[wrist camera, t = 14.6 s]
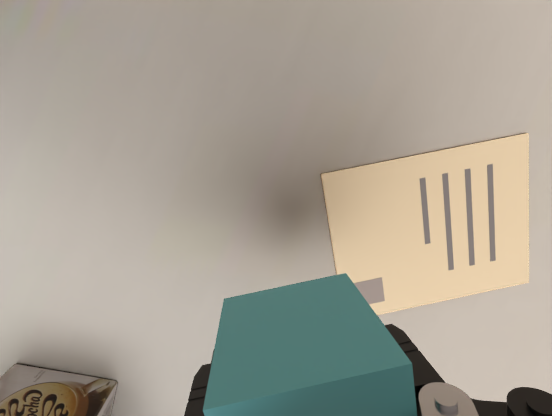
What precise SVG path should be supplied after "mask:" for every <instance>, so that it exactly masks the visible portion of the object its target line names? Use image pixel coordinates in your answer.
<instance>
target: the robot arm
mask: <svg viewBox="0 0 552 416" xmlns="http://www.w3.org/2000/svg"><path fill="white" fill-rule="evenodd" d="M385 327H386V328H387V330H388V331H389V332H390V334H391V335H392V337H393V338H394V339H395V341H396V342H397V343H398V345H399V346H400V347H401V349H402V350H403V352H404V353H405V354H406V356H407V357H408V358H409V360H410V361H411V363H412V367H413V377H414V387H415V398H416V408H417V416H552V394H549V393H547V392H545V391H542V390H539V389H535V388H529V387H520V388H515V389H513V390H511V391H510V392H509V393H508V395H507V402H493V401H481V400H475V399H471V398H470V397H469V396H468V395H467V394H466V393H465V392H463V391H462V390H461V389H459V388H457V387H455V386H453V385H450V384H447V383H445V382H444V380H443V379H442V378H441V377H440V376H439V374H438V373H437V372H436V371H435V369H434V368H433V367H432V366H431V364H430V363H429V362H428V361H427V360H426V358H425V357H424V356H423V355H422V353H421V352H420V351H418V348H417V347H416V346H415V345H414V344H413V343H412V342H411V340H410V339H409V337H408V336H407V335H406V334H405V332H404V331H402V330H401V329H399V328H397V327H396V326H394V325H392V324H389V325H385ZM213 354H214V351H213ZM212 359H213V356H212ZM211 365H212V361H211V364H206V365H202V366H201V368H200V369H199V371H198V372H197V374H196V375H195V377H194V380H193V384H192V388H191V392H190V395H189V399H188V400H189V402H188V403H187V407H186V411H185V415H184V416H204V413H203V406H204V401H205V396H206V391H207V385H208V380H209V375H210V370H211Z"/></svg>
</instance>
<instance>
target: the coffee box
mask: <svg viewBox="0 0 552 416" xmlns="http://www.w3.org/2000/svg"><path fill="white" fill-rule="evenodd" d="M116 388H117V382H116V381H114V380H109V379H102V378H96V377H91V376H85V375H79V374H73V373H67V372H61V371H55V370H49V369H42V368H36V367H31V366H25V365H19V364H15V365H13V366H12V367H11V368H10V369H9V370H8V371H7V372H6V373H5V374H4V375H2V376H1V377H0V416H110V415H111V411H112V407H113V402H114V398H115V393H116Z"/></svg>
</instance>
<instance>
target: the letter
mask: <svg viewBox="0 0 552 416" xmlns="http://www.w3.org/2000/svg"><path fill="white" fill-rule="evenodd" d="M321 179H322V186H323V192H324V198H325V205H326V211H327V217H328V224H329V230H330V236H331V243H332V249H333V256H334V262H335V268H336V275H339V274H344V273H346V274H347V275H348V276H349V278H350V279H351V280H352V282H353V283H354V285H355V286H356V287H357V289H358V290H359V291H360V293H361V294H362V296H363V297H364V298H365V300H366V301H367V302H368V304H369V305H370V306H371V308H372V309H373V311H374V312H375V313H376V315H380V314H385V313H389V312H394V311H399V310H403V309H408V308H413V307H417V306H422V305H427V304H431V303H436V302H441V301H445V300H450V299H455V298H459V297H464V296H469V295H473V294H478V293H483V292H487V291H492V290H497V289H501V288H506V287H510V286H515V285H520V284H524V283H529V133H524V134H519V135H514V136H509V137H504V138H499V139H494V140H489V141H484V142H479V143H474V144H469V145H464V146H459V147H454V148H449V149H444V150H438V151H433V152H428V153H423V154H418V155H413V156H408V157H403V158H398V159H393V160H388V161H383V162H378V163H373V164H368V165H363V166H358V167H353V168H348V169H343V170H338V171H333V172H328V173H323V174H321Z"/></svg>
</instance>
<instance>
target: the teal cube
mask: <svg viewBox="0 0 552 416" xmlns="http://www.w3.org/2000/svg"><path fill="white" fill-rule="evenodd" d="M203 413H204V416H417V408H416V398H415V387H414V377H413V367H412V363H411V361H410V360H409V358H408V357H407V356H406V354H405V353H404V352H403V350H402V349H401V347H400V346H399V345H398V343H397V342H396V341H395V339H394V338H393V337H392V335H391V334H390V332H389V331H388V330H387V328H386V327H385V326H384V324H383V323H382V321H381V320H380V319H379V317H378V316H377V315H376V313H375V312H374V311H373V309H372V308H371V306H370V305H369V304H368V302H367V301H366V300H365V298H364V297H363V296H362V294H361V293H360V291H359V290H358V289H357V287H356V286H355V285H354V283H353V282H352V280H351V279H350V278H349V276H348V275H347V274H346V273H344V274H339V275H334V276H330V277H325V278H320V279H315V280H311V281H306V282H301V283H297V284H292V285H287V286H282V287H278V288H273V289H268V290H264V291H259V292H254V293H249V294H245V295H240V296H235V297H231V298H226V299H224V302H223V307H222V312H221V318H220V323H219V328H218V333H217V338H216V344H215V349H214V354H213V359H212V365H211V370H210V375H209V380H208V385H207V391H206V396H205V401H204V406H203Z"/></svg>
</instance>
